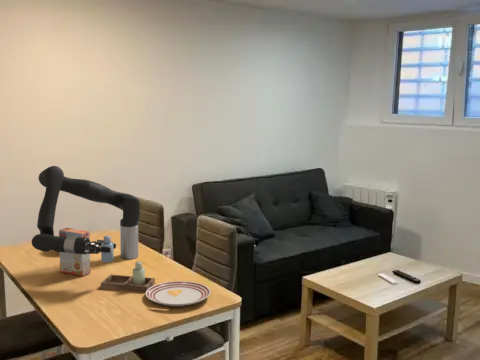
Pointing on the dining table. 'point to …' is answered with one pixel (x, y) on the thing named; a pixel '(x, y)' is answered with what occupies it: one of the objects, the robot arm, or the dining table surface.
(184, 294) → the dinner plate
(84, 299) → the dining table surface
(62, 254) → the cracker box
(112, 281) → the caddy
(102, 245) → the blue bottle
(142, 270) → the green bottle
